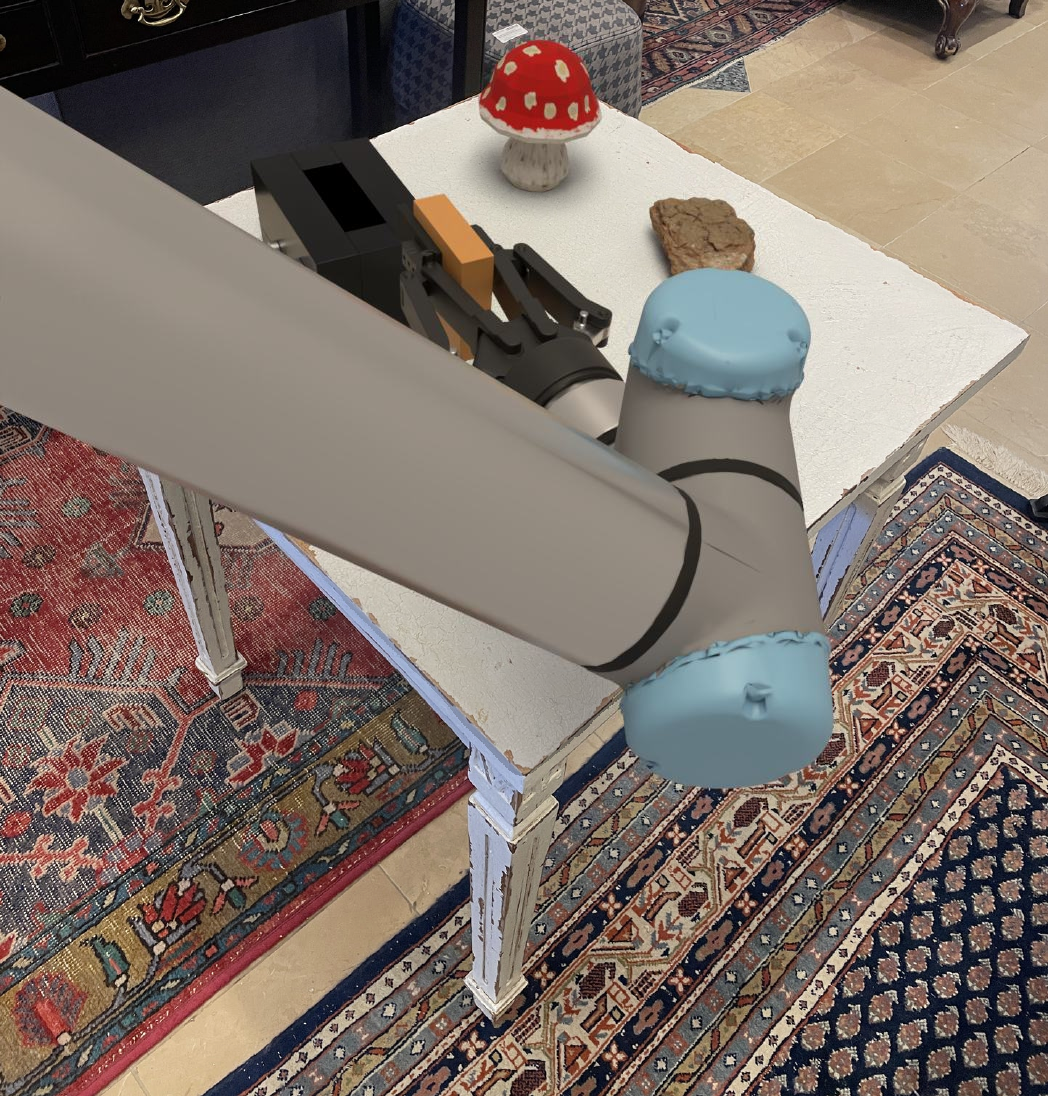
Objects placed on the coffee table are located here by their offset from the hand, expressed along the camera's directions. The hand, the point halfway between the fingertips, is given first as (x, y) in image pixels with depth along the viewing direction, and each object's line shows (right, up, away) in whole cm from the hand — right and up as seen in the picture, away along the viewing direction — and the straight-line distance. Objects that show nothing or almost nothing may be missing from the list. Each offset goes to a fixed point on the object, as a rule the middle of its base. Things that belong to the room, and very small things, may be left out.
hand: (420, 216), depth 70 cm
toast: (+2, -8, +2) cm, 8 cm away
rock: (+27, +6, +33) cm, 43 cm away
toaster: (-10, +2, +26) cm, 28 cm away
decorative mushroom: (+9, +19, +42) cm, 46 cm away
